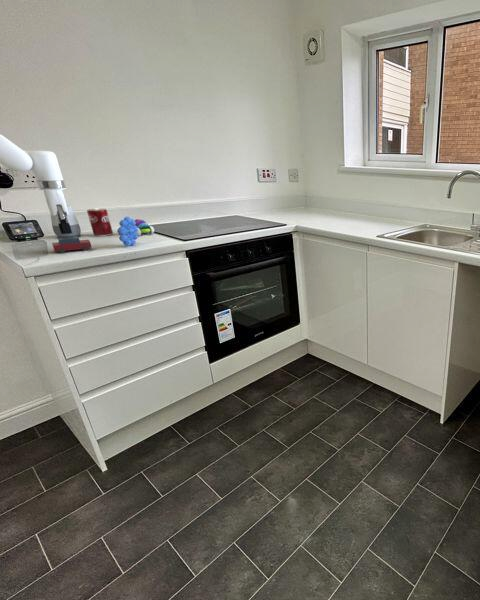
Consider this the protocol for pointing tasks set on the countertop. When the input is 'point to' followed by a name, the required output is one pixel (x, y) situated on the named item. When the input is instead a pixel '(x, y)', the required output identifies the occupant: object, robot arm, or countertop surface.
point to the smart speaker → (71, 220)
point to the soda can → (100, 222)
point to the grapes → (128, 231)
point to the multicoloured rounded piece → (143, 227)
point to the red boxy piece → (71, 244)
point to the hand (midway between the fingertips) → (66, 233)
